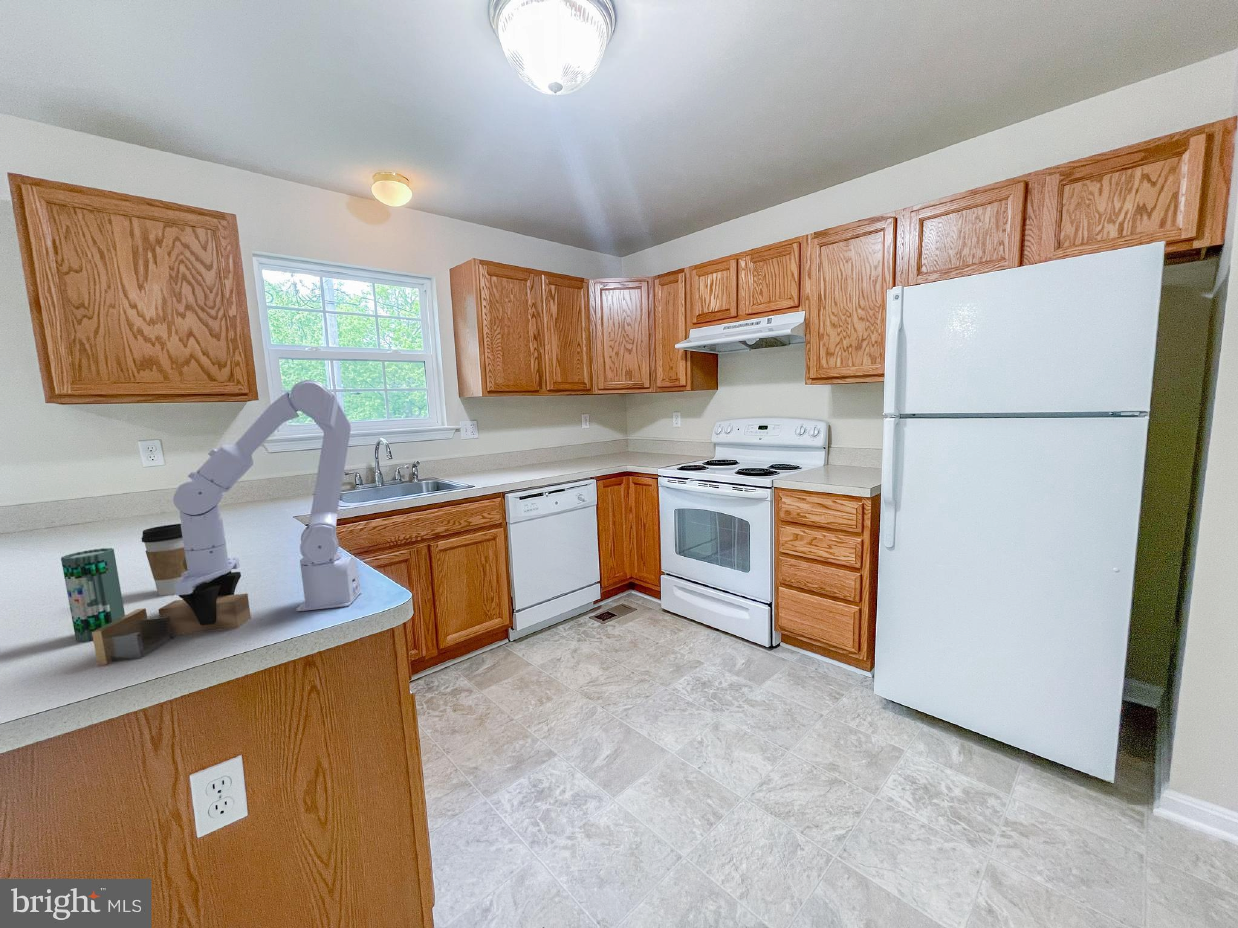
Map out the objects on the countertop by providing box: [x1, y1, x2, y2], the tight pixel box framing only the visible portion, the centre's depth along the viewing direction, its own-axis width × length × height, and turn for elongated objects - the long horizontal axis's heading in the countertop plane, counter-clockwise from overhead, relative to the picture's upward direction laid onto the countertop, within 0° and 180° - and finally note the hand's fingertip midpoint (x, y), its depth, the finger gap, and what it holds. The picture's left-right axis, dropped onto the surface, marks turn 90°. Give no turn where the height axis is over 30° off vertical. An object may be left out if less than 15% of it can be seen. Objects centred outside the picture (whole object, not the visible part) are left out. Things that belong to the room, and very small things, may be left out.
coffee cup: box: [141, 523, 187, 597], centre depth 109 cm, size 8×8×15 cm
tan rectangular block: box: [158, 592, 252, 636], centre depth 89 cm, size 12×4×5 cm, turn 100°
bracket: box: [92, 608, 174, 666], centre depth 81 cm, size 5×9×6 cm, turn 10°
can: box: [60, 547, 126, 643], centre depth 87 cm, size 6×6×15 cm
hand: (216, 618), depth 89 cm, fingers closed on tan rectangular block, 4 cm apart
